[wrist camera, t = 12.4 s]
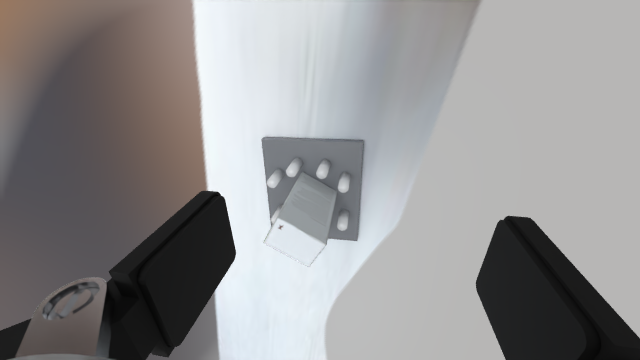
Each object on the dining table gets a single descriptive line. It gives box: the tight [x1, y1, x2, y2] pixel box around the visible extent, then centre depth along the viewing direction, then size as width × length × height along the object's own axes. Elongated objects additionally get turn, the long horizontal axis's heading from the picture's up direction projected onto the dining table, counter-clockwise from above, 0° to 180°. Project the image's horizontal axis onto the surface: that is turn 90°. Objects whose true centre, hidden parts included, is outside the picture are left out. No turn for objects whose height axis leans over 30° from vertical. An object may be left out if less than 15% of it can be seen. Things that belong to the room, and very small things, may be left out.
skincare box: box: [264, 172, 337, 267], centre depth 34 cm, size 6×4×12 cm
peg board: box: [262, 137, 363, 241], centre depth 38 cm, size 16×14×5 cm
